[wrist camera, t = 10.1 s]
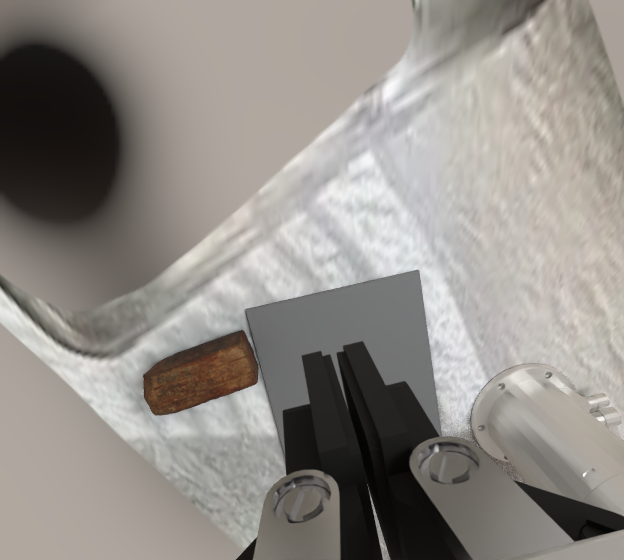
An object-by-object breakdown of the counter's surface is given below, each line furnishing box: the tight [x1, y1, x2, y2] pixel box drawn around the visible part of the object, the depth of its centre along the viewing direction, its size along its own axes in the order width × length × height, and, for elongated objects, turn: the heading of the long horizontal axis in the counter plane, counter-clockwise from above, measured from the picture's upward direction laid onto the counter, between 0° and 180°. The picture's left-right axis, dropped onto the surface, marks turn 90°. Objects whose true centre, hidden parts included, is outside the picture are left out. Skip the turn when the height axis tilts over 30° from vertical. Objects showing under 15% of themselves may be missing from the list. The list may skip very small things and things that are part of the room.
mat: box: [246, 270, 442, 455], centre depth 48 cm, size 18×21×1 cm
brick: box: [143, 330, 258, 415], centre depth 44 cm, size 11×4×5 cm
